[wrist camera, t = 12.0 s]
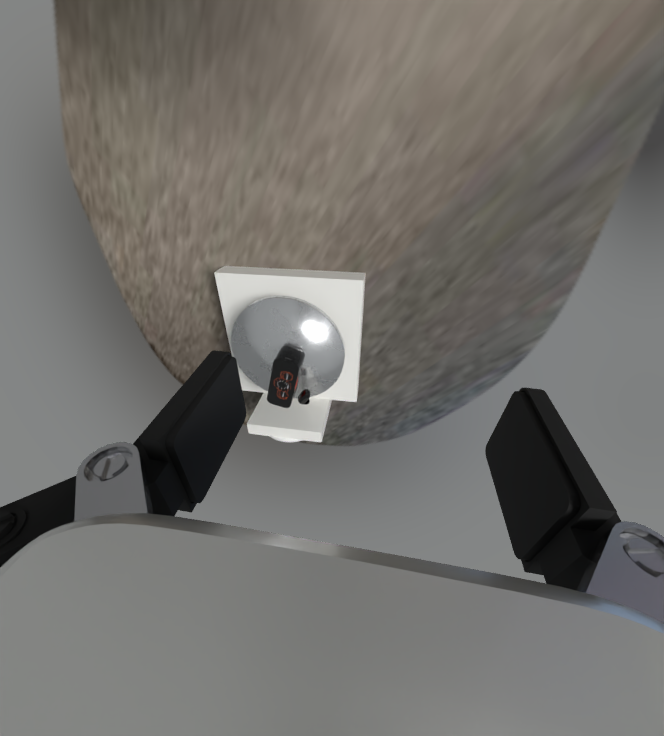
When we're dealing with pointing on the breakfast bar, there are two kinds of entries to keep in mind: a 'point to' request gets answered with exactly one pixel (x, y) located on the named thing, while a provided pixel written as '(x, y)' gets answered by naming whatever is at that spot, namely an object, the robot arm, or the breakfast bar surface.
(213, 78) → the breakfast bar surface
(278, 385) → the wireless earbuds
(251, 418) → the kitchen scale
